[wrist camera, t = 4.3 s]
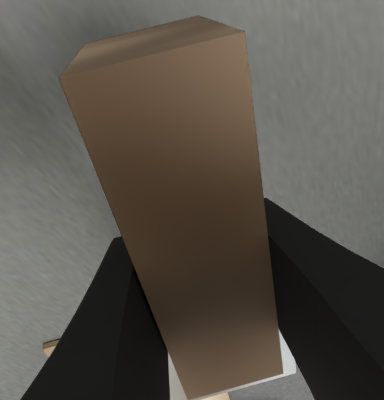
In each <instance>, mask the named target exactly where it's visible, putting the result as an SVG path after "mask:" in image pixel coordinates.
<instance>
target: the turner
mask: <svg viewBox="0 0 384 400" xmlns="http://www.w3.org/2000/svg"><path fill="white" fill-rule="evenodd" d="M59 81H60V83H61V86H62V88H63V91H64V93H65V96H66V98H67V101H68V103H69V106H70V108H71V111H72V113H73V116H74V118H75V121H76V123H77V126H78V128H79V131H80V133H81V136H82V138H83V141H84V143H85V146H86V148H87V151H88V153H89V156H90V158H91V161H92V163H93V166H94V168H95V171H96V173H97V175H98V178H99V180H100V183H101V185H102V188H103V190H104V193H105V195H106V198H107V200H108V203H109V205H110V208H111V210H112V213H113V215H114V218H115V220H116V223H117V225H118V228H119V230H120V233H121V235H122V238H123V240H124V243H125V245H126V248H127V250H128V253H129V255H130V258H131V260H132V263H133V265H134V268H135V270H136V273H137V275H138V278H139V280H140V283H141V285H142V288H143V290H144V293H145V295H146V298H147V300H148V303H149V305H150V308H151V310H152V313H153V315H154V318H155V320H156V323H157V325H158V328H159V330H160V333H161V335H162V338H163V340H164V343H165V345H166V348H167V350H168V363H169V384H170V400H201V399H205V398H208V397H212V396H216V395H219V394H223V393H226V392H230V391H233V390H237V389H240V388H244V387H248V386H251V385H255V384H258V383H262V382H265V381H269V380H273V379H276V378H280V377H283V376H287V375H290V374H294V373H296V365H295V359H294V357H293V356H292V354H291V352H290V350H289V348H288V346H287V344H286V342H285V340H284V338H283V336H282V334H281V333H280V331H279V329H278V320H277V311H276V303H275V294H274V285H273V276H272V267H271V259H270V250H269V241H268V232H267V223H266V215H265V206H264V197H263V188H262V179H261V171H260V162H259V153H258V144H257V135H256V127H255V118H254V109H253V100H252V92H251V83H250V74H249V65H248V56H247V48H246V39H245V31H242V30H239V29H236V28H233V27H230V26H227V25H225V24H222V23H219V22H216V21H213V20H210V19H207V18H204V17H201V16H194V17H190V18H186V19H182V20H178V21H174V22H170V23H166V24H162V25H158V26H154V27H150V28H146V29H142V30H138V31H134V32H130V33H126V34H122V35H118V36H114V37H110V38H106V39H102V40H98V41H94V42H90V43H86V44H85V45H84V46H83V47H82V49H81V50H80V51H79V53H78V54H77V55H76V56H75V58H74V59H73V60H72V62H71V63H70V64H69V65H68V67H67V68H66V69H65V71H64V72H63V73H62V74H61V76H60V77H59Z"/></svg>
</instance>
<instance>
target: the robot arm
mask: <svg viewBox="0 0 384 400" xmlns="http://www.w3.org/2000/svg"><path fill="white" fill-rule="evenodd" d="M264 206H265V215H266V223H267V232H268V241H269V250H270V259H271V267H272V276H273V285H274V294H275V303H276V311H277V320H278V329H279V331H280V333H281V334H282V336H283V338H284V340H285V342H286V344H287V346H288V348H289V350H290V352H291V354H292V356H293V357H294V359H295V361H296V363H297V365H298V367H299V369H300V371H301V373H302V375H303V377H304V379H305V380H306V382H307V384H308V386H309V388H310V390H311V392H312V394H313V397H314V399H315V400H384V268H382V267H380V266H378V265H376V264H374V263H372V262H370V261H369V260H367V259H365V258H363V257H361V256H359V255H357V254H355V253H353V252H352V251H350V250H348V249H346V248H345V247H343V246H341V245H339V244H338V243H336V242H334V241H333V240H331V239H329V238H328V237H326V236H324V235H323V234H321V233H319V232H318V231H316V230H315V229H313V228H311V227H310V226H308V225H307V224H305V223H304V222H302V221H301V220H299V219H297V218H296V217H294V216H293V215H291V214H290V213H288V212H287V211H285V210H284V209H282V208H281V207H279V206H278V205H276V204H275V203H273V202H272V201H270V200H269V199H267V198H264ZM21 400H170V384H169V363H168V350H167V348H166V345H165V343H164V340H163V338H162V335H161V333H160V330H159V328H158V325H157V323H156V320H155V318H154V315H153V313H152V310H151V308H150V305H149V303H148V300H147V298H146V295H145V293H144V290H143V288H142V285H141V283H140V280H139V278H138V275H137V273H136V270H135V268H134V265H133V263H132V260H131V258H130V255H129V253H128V250H127V248H126V245H125V243H124V240H123V238H122V236H121V237H117V238H114V239H113V241H112V242H111V244H110V246H109V248H108V250H107V252H106V254H105V256H104V258H103V260H102V263H101V265H100V267H99V269H98V271H97V273H96V275H95V277H94V279H93V281H92V283H91V285H90V287H89V288H88V290H87V292H86V294H85V296H84V298H83V300H82V302H81V304H80V305H79V307H78V309H77V311H76V313H75V315H74V316H73V318H72V320H71V322H70V323H69V325H68V327H67V328H66V330H65V332H64V333H63V335H62V337H61V338H60V340H59V342H58V343H57V345H56V347H55V348H54V350H53V352H52V353H51V355H50V356H49V358H48V360H47V361H46V363H45V364H44V366H43V367H42V369H41V370H40V372H39V373H38V375H37V376H36V378H35V379H34V381H33V382H32V384H31V385H30V387H29V388H28V390H27V391H26V392H25V394H24V395H23V397H22V398H21Z"/></svg>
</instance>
